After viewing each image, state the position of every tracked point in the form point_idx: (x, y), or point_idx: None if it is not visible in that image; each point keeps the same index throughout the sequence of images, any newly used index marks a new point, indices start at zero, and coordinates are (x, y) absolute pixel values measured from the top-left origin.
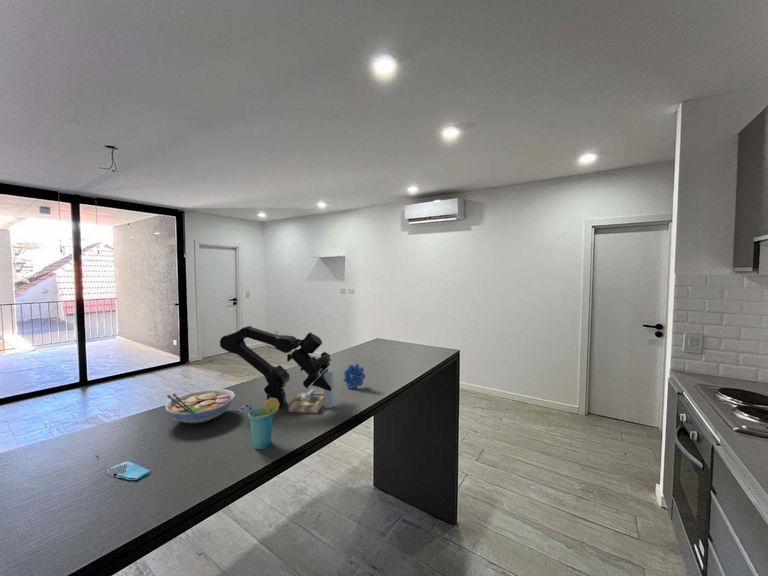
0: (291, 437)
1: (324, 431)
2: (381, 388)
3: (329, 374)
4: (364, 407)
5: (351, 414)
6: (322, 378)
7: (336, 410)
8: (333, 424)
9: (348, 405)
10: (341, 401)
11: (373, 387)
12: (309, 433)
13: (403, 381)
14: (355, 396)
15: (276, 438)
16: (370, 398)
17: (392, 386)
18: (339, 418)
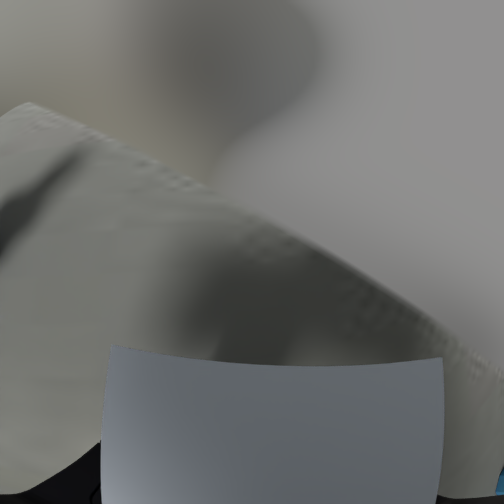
0: (492, 433)
1: (461, 344)
2: (30, 157)
3: (433, 417)
4: (226, 204)
5: (317, 261)
6: (468, 499)
7: (275, 355)
8: (420, 327)
9: (194, 289)
10: (125, 340)
11: (6, 185)
12: (476, 391)
13: (19, 114)
14: (66, 256)
15: (492, 470)
16: (114, 184)
17: (34, 130)
18: (369, 314)
